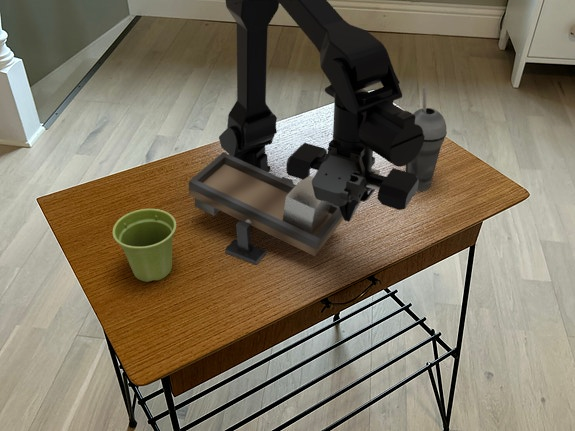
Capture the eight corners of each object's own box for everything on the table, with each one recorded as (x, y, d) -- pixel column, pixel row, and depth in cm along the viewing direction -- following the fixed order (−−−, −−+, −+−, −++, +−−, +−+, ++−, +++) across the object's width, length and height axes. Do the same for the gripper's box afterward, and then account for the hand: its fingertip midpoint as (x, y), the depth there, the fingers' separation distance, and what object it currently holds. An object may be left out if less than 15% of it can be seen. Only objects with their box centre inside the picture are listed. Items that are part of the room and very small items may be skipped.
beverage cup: (437, 197, 110) (454, 98, 98) (396, 193, 112) (409, 95, 99) (437, 175, 116) (454, 78, 104) (399, 171, 117) (411, 75, 105)
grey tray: (185, 210, 103) (185, 183, 99) (224, 176, 111) (225, 149, 106) (309, 272, 95) (315, 245, 91) (341, 230, 103) (347, 204, 99)
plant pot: (149, 242, 102) (141, 201, 96) (194, 261, 98) (188, 219, 93) (110, 276, 96) (99, 234, 90) (156, 298, 92) (147, 255, 86)
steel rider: (281, 224, 96) (286, 195, 92) (301, 202, 101) (306, 174, 97) (309, 237, 95) (314, 209, 91) (328, 214, 99) (334, 186, 95)
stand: (225, 252, 99) (222, 223, 96) (276, 199, 111) (275, 171, 107) (256, 264, 97) (254, 235, 93) (305, 208, 108) (305, 180, 104)
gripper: (265, 142, 82) (269, 230, 91) (395, 180, 74) (384, 272, 84) (304, 106, 89) (303, 192, 99) (426, 138, 82) (412, 227, 92)
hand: (347, 219), depth 93 cm, fingers closed
